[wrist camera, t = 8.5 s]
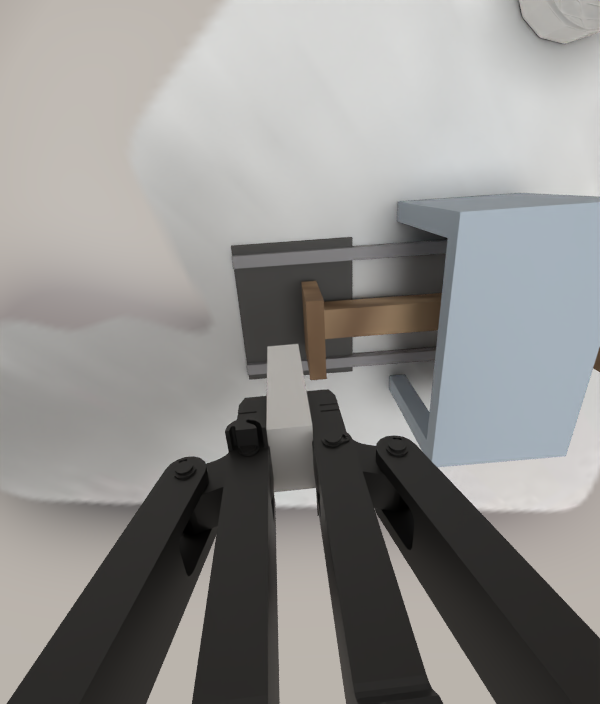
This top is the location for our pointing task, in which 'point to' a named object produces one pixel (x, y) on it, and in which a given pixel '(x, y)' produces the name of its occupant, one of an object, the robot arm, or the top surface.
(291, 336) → the dark grey flat plate
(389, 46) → the top surface
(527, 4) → the white cup
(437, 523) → the robot arm
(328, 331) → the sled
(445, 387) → the tunnel
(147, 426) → the top surface
